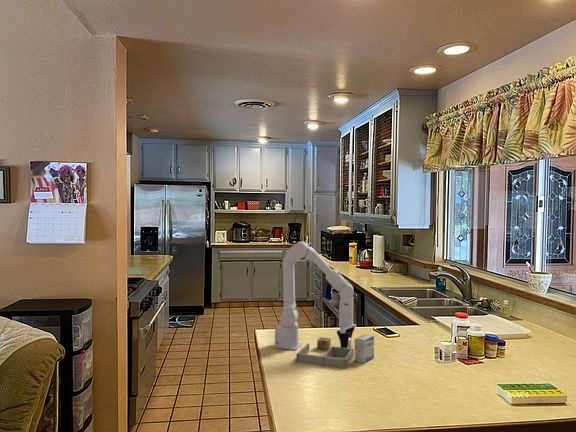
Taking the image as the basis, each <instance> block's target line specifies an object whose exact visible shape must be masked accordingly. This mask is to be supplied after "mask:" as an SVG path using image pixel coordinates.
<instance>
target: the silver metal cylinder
mask: <svg viewBox="0 0 576 432" xmlns="http://www.w3.org/2000/svg"><path fill="white" fill-rule="evenodd" d="M347 348H352V338H351V337H349V340H348V347H347Z"/></svg>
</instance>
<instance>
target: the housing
mask: <svg viewBox="0 0 576 432" xmlns="http://www.w3.org/2000/svg"><path fill="white" fill-rule="evenodd" d="M308 353H310V343H306V344H305V345H304V346H303V347H302V348H301V349H300V350H299V351H298V352H297V353H296V363H301V364H309V365H316V366H323V367H324V366H325V367H327V366H328V367H332V368H333V367H334V368H342V369H347V368H348V367H349V365H350V363H351V362H352V360H353V358H355V348H352V347H351V348H342V347H341V346H330V349H329V350H328V351H326V353H325V354H324V355H323V356H322V355H314V354H308ZM333 356H339V357H338V358H337V357H333ZM341 357H344V358H341Z"/></svg>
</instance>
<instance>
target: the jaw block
mask: <svg viewBox="0 0 576 432" xmlns="http://www.w3.org/2000/svg"><path fill="white" fill-rule="evenodd" d="M331 343H332V342H331V337H321V336H320V337H319V338H318V339H317V341H316V350H318V351H326V352H328V350H329V349H330V348H331Z"/></svg>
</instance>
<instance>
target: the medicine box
mask: <svg viewBox="0 0 576 432" xmlns="http://www.w3.org/2000/svg"><path fill="white" fill-rule="evenodd" d="M374 358H375V336H374V335H371V334H367V333H366V334H362V335H361V336H358V337H355V339H354V361H355V362H358V363H363V364H366V363H367V362H369V361H370V360H372V359H374Z"/></svg>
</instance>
